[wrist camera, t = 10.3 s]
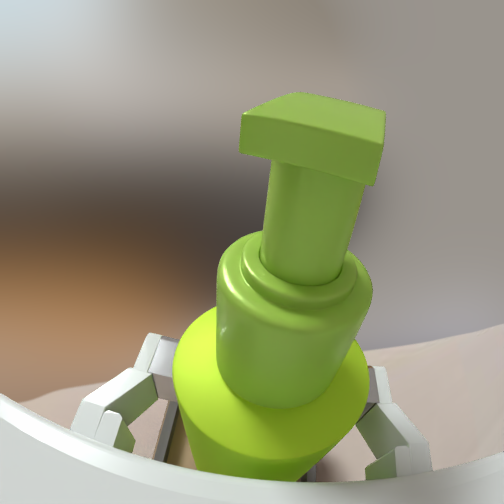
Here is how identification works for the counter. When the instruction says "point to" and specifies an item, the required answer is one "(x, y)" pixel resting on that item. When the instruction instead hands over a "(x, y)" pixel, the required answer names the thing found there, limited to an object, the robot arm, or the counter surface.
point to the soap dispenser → (286, 301)
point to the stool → (187, 443)
